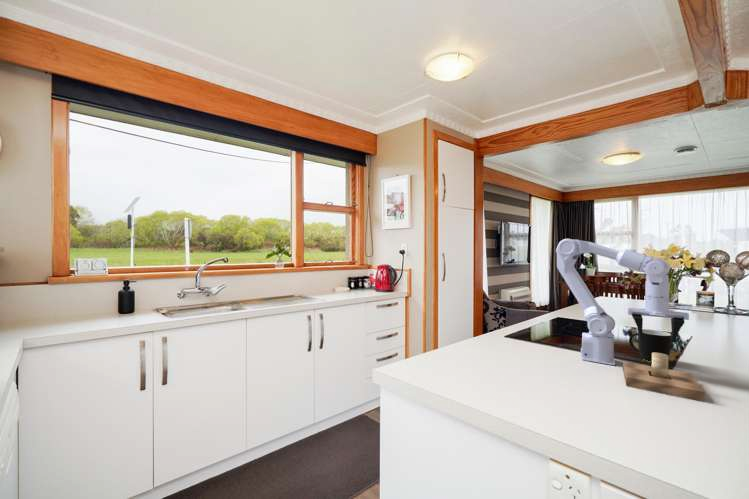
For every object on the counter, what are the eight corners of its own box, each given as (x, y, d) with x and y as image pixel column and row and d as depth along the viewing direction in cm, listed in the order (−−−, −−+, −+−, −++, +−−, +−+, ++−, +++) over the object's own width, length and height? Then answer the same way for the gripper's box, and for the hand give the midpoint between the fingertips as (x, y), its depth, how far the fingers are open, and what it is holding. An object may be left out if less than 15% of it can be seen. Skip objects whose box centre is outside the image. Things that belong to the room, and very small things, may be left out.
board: (626, 385, 93) (626, 377, 93) (623, 369, 107) (623, 361, 107) (704, 401, 84) (705, 392, 84) (690, 381, 98) (690, 373, 98)
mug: (675, 363, 114) (676, 334, 114) (662, 367, 110) (663, 336, 110) (635, 353, 124) (636, 326, 124) (622, 356, 120) (623, 328, 120)
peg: (651, 384, 95) (652, 354, 95) (650, 380, 98) (651, 351, 98) (668, 387, 93) (669, 357, 93) (667, 383, 96) (667, 354, 96)
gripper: (628, 296, 105) (628, 338, 105) (691, 300, 97) (691, 346, 97) (627, 293, 111) (627, 334, 111) (686, 297, 103) (686, 341, 103)
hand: (656, 339), depth 104 cm, fingers open, 7 cm apart
